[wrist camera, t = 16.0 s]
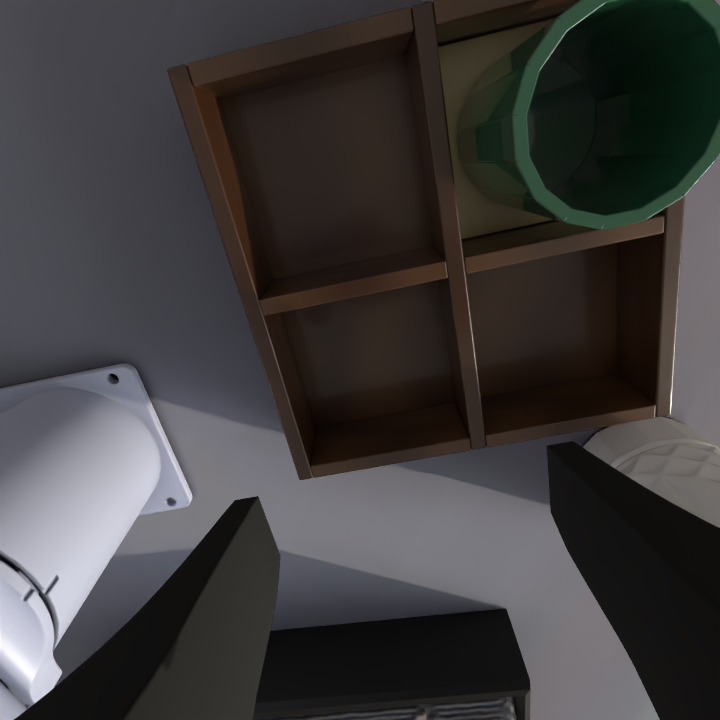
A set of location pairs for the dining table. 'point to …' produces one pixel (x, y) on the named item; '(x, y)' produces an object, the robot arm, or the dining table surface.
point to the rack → (416, 249)
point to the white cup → (665, 462)
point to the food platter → (397, 671)
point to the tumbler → (599, 113)
